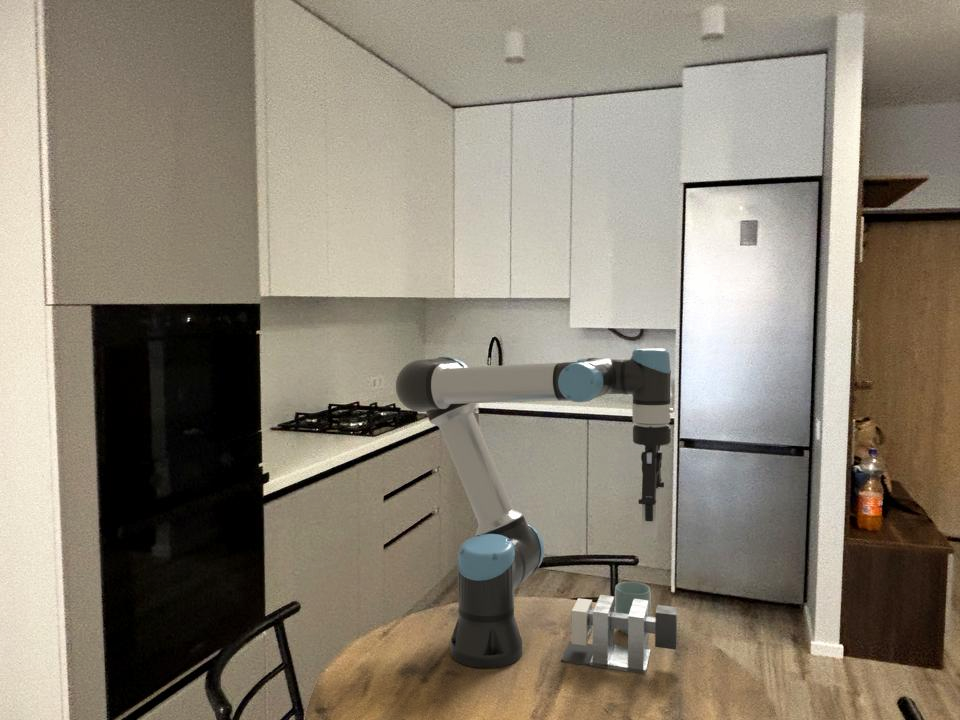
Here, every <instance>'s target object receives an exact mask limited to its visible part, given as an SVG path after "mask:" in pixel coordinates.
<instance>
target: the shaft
mask: <svg viewBox="0 0 960 720" xmlns="http://www.w3.org/2000/svg"><path fill="white" fill-rule="evenodd" d="M593 610H594V609H592V610H590V611H589V614H588V616H587V625H590V626H592V627H593ZM678 610H679V609H678V607H677V606H671V605H661V604H657V605H656V608H655V616H654V617H653V616H650V617H648V616H646V619H645V633H648V634H654V635H655V636H654V637H655V639H654V640H655V641H654V642H655V643H654V646H655V648H661V649H669V650H675V651H676V650H677V644H678ZM628 616H629V614H623V613H615V611H614V612H611V614H610V628H613V629H614V630H620V629H621V630H628ZM570 621H571V624H572V614H571V619H570ZM621 630H620V631H621Z"/></svg>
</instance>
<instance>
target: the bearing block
mask: <svg viewBox="0 0 960 720" xmlns="http://www.w3.org/2000/svg"><path fill="white" fill-rule="evenodd" d="M592 610H593V626H592V644H593V656H592V659H591V661H590V665H589V666H590V667H593V668H600V669H601V668H602V669H609V670H614V671H615V670H616V671H622V672H627V673H628V672H630V673H636V674H637V673H638V674H641V675H642V674H643V675H647V672H648V666H649V663H650V657H651V649H649V633H645V619H646V616H648V600H641V599H634V600H633V603H632V606H631V609H630V612H629V616H628V634H627V636H628V637H627V646H626V645H621V644H615V629H613V628H610V614H611V612H615V595H614V596H613V595H606V594H605V595H604V594H600V595H599V597H598V599H597V601H596V604H595V606H594V609H592Z"/></svg>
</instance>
